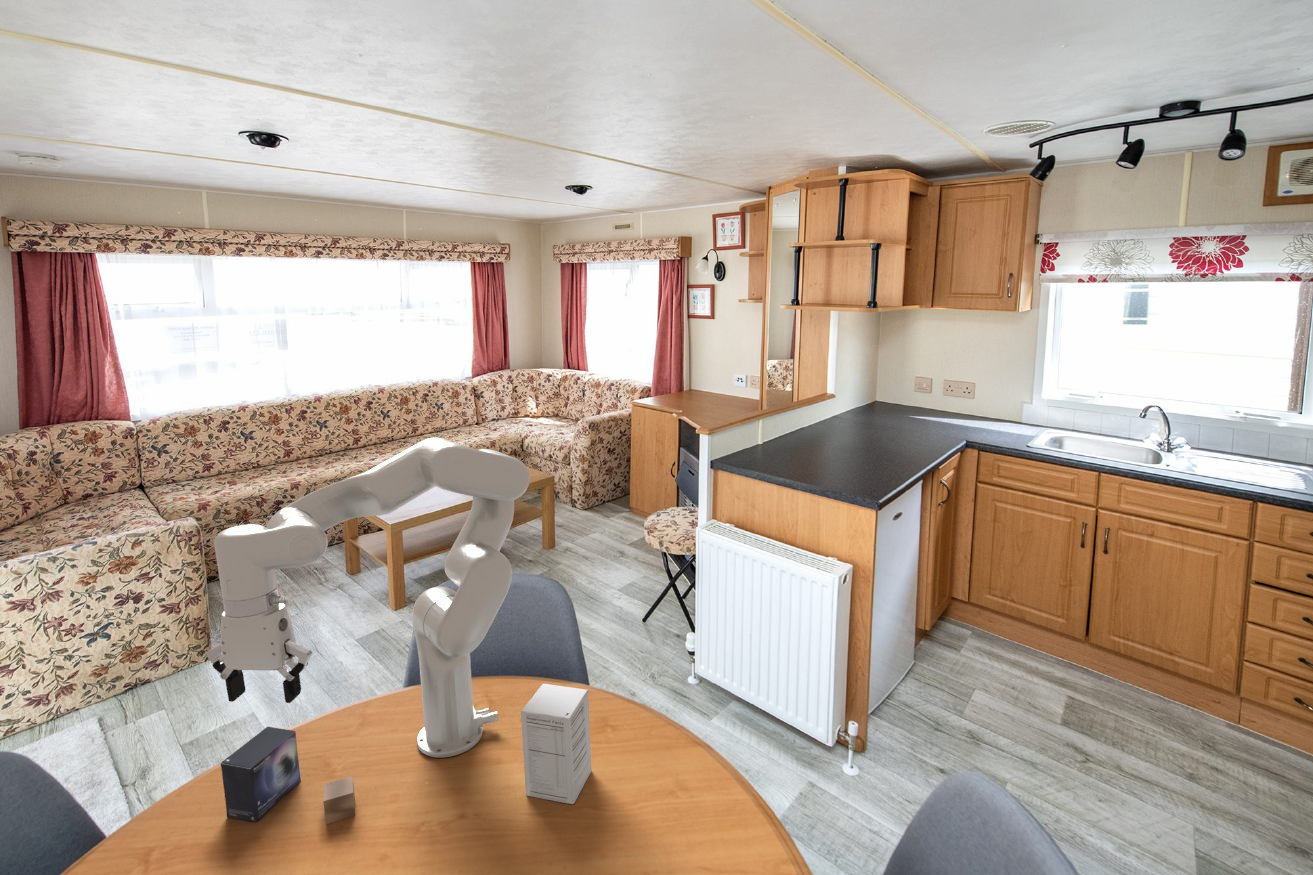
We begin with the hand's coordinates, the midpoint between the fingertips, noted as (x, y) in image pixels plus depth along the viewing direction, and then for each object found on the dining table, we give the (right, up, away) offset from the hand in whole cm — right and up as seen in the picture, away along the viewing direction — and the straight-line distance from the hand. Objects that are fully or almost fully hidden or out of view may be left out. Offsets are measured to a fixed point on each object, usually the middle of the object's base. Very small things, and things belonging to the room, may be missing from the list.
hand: (265, 697), depth 108 cm
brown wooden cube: (+11, -21, +4) cm, 24 cm away
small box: (-4, -21, +7) cm, 22 cm away
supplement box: (+47, -20, +10) cm, 53 cm away
